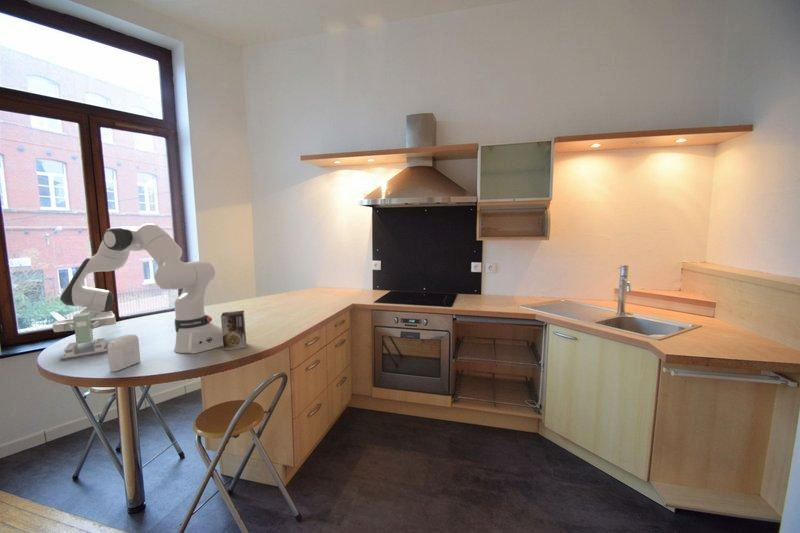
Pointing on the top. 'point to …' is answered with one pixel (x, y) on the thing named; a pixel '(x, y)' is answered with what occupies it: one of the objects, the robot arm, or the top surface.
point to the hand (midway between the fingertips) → (83, 327)
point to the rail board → (84, 350)
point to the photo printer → (123, 352)
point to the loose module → (83, 328)
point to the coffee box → (233, 330)
